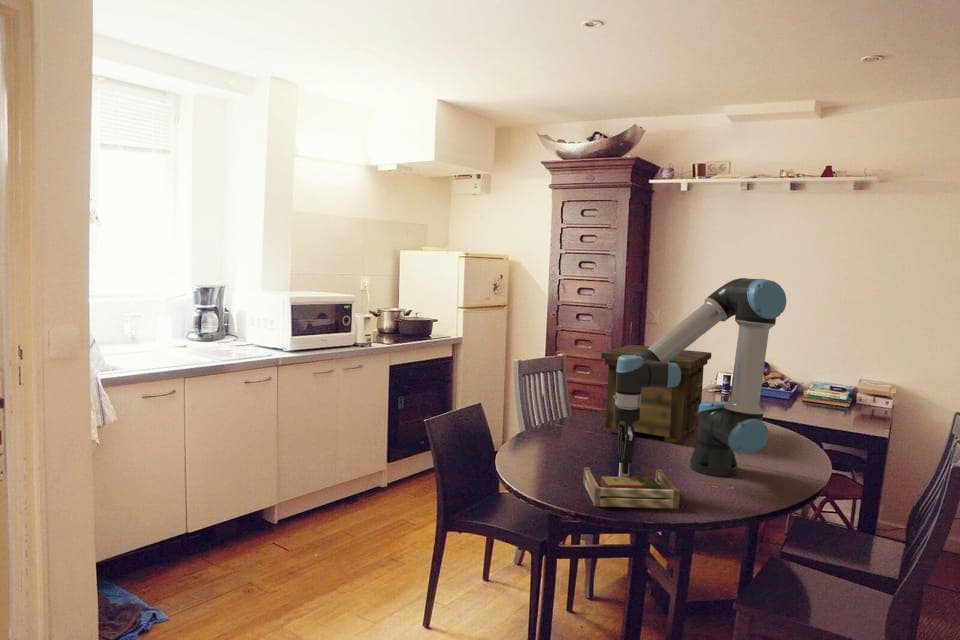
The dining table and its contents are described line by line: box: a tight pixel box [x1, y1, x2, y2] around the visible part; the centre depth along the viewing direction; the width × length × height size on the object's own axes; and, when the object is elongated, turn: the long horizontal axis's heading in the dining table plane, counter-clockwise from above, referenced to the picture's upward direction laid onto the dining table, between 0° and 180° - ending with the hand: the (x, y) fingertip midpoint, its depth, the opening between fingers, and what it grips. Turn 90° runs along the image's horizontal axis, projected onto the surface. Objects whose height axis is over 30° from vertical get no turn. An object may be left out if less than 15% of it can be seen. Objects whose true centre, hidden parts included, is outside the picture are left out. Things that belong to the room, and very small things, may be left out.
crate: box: [600, 344, 712, 445], centre depth 261 cm, size 35×35×33 cm
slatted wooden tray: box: [582, 466, 681, 510], centre depth 187 cm, size 24×18×5 cm
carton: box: [599, 476, 661, 499], centre depth 189 cm, size 8×16×4 cm, turn 95°
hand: (623, 482), depth 194 cm, fingers closed
